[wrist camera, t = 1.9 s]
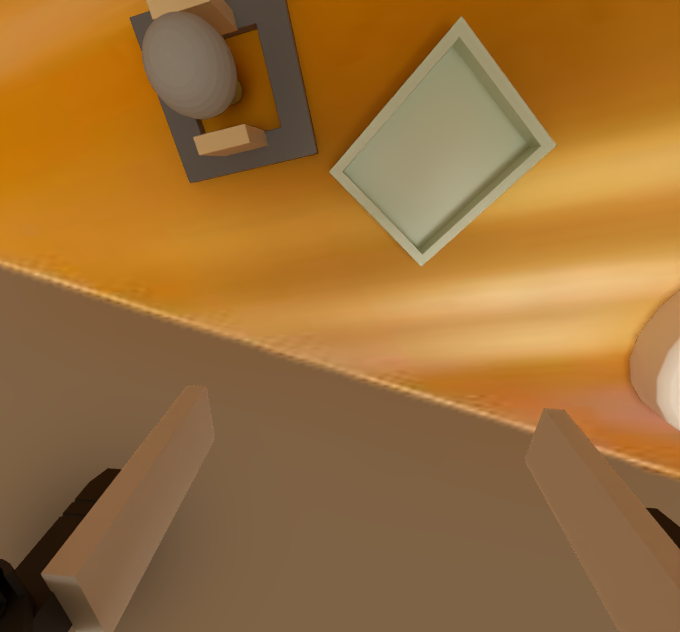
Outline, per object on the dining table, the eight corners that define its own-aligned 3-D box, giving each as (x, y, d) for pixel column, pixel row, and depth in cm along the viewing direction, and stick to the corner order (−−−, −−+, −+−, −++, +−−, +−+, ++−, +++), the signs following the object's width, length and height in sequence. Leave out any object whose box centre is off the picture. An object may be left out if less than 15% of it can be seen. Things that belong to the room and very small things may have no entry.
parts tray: (452, 29, 25) (461, 15, 23) (540, 146, 28) (556, 145, 26) (331, 171, 30) (328, 172, 27) (417, 259, 33) (421, 266, 30)
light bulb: (221, 139, 29) (156, 128, 20) (188, 69, 27) (101, 22, 18) (275, 113, 28) (233, 89, 19) (246, 38, 26) (183, -28, 17)
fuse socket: (137, 22, 26) (78, -15, 21) (281, -24, 24) (257, -78, 19) (194, 182, 31) (158, 186, 25) (318, 153, 29) (307, 151, 24)
